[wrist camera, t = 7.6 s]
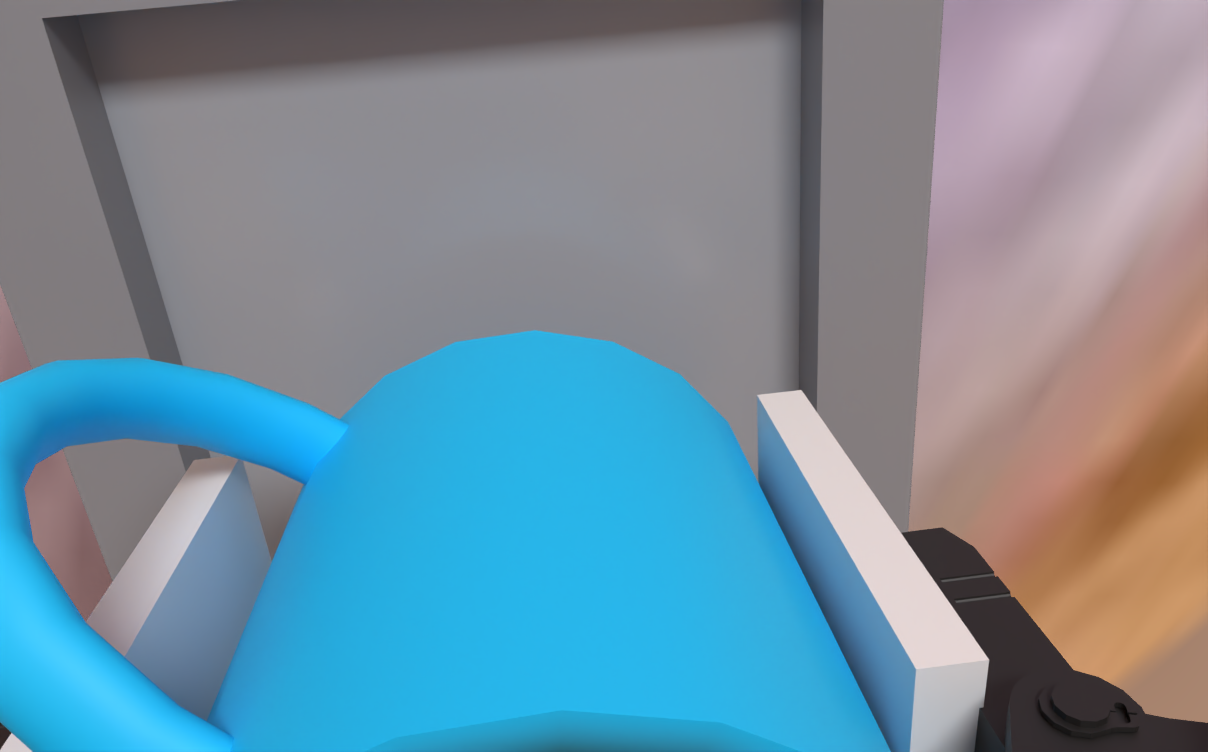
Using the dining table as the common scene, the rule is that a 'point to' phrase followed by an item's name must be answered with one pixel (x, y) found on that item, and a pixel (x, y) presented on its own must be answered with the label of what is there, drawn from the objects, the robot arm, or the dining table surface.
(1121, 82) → the dining table surface
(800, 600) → the mug
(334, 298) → the tray
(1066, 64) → the dining table surface
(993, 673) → the robot arm
